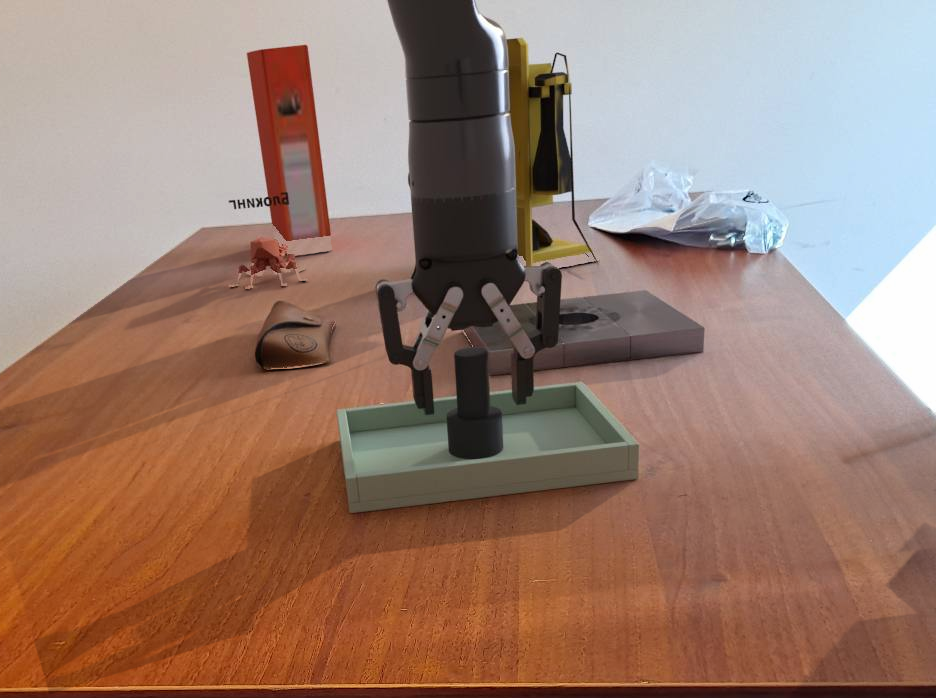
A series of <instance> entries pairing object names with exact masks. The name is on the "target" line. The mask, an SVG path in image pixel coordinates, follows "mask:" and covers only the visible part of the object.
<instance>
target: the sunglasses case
mask: <svg viewBox="0 0 936 698" xmlns="http://www.w3.org/2000/svg"><path fill="white" fill-rule="evenodd" d="M335 321H336V319H333V318H332V317H329V316H325V315H322V314H319V313H314V312H310V311H307V310H305V309H304V308H302V307H300V306H298V305H295V304H294V303H291V302H288V301H286V300H277V301H276V302H274V304H273V305H272V307H271V309H270V312H269V313H268V314H267V316H266V318H265V320H264V322H263V324H262V327H261V330H260V332H259V335H258V338H257V340H256V345H255V349H254V353H253V354H254V360H255V362H256V364H257V365H258V366H259V367H260V368H261V369H262V370H264V369H271V368H283V367H284V368H287V367H294V366H302V365H311V364H312V365H313V364H317V363H318V364H319V363H325V364H328V363H329V362H331V356H330V349H329V347H330V346H329V344H330V341H329V340H331V336H332V333H331V331H332V327H333V325H334V323H335ZM332 332H333V331H332ZM330 335H331V336H330Z"/></svg>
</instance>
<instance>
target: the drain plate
mask: <svg viewBox="0 0 936 698" xmlns="http://www.w3.org/2000/svg"><path fill="white" fill-rule="evenodd" d="M509 307H510V309H511V310H512V312H513V313H514V315H515V317H516V318H517V320H518V321H519V323H520V324H521V326H522V328H523V330H524V331H525V333H526V334H528V333H530V332H532V331H534V330H536V310H537V301H533V302H526V303H517V304H510V305H509ZM463 330H464V332H465V333H466V335H467V337H468V339H469V340H470V342H471V344H472V345H473V347H478V348H484V349H486V350H487V351H488V365H489V377H491V375H492V376H499V375H500V374H501V375H508V374H509V375H511V353H514V346H513V345H512V343H511V341H510V340H509V338H508V337H507V335H506V334H505V332H504V331H503V329H502V328H501V326H500V325H499V323H498V322H496V323H494V324H493V326H492V327H476V326H471V327H468V328H465V329H463ZM705 331H706V330H705V327H704V326H703V325H701V324H700V323H698V322H697V321H695V320H693V319H692V318H691V317H689V316H687V315H686V314H684V313H682V312H681V311H679V310H678V309H676V308H675V307H673V306H672V305H670V304H669V303H667V302H665V301H664V300H662V299H661V298H660V297H657V296H656V295H654V293H651V292H650V291H648V290H646V289H644V290H634V291H627V292H626V291H625V292H616V293H615V292H614V293H607V294H597V295H589V296H580V297H569V298H561V300H560V316H559V333H558V342H557V344H556V345H555V346H554V347H552V348H545V349H543V350H540V351H539V352H537V353H536V354H535V356H534V359H533V372H535V371H544V370H545V371H546V370H553V369H562V368H571V367H580V366H588V365H598V364H606V363H615V362H624V361H631V360H632V361H634V360H643V359H650V358H660V357H669V356H677V355H686V354H694V353H703V352H704V347H705Z"/></svg>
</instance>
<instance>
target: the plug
mask: <svg viewBox="0 0 936 698" xmlns="http://www.w3.org/2000/svg"><path fill="white" fill-rule="evenodd" d="M453 358H454V362H453V363H454V375H455V378H454V379H455V393H456V395H455V396H457V408H455V409H453V410H451V411H449V412H448V413H447V416H446V418H447V433H448V448H449V452H450V454H451V455H453V456H455V457H458V458H463V459H482V458H487V457H491V456H494V455H497V454H498V453H500V452H501V451H502V450H503V424H502V411H501V410H500V409H499V408H497V407H494V406H490V392H491V390H490V389H491V388H490V375H489V365H488V351H487V350H486V349H484V348H478V347H472V346H470V347H464V348H460V349H457V350H455V351H454V353H453Z"/></svg>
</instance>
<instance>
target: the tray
mask: <svg viewBox="0 0 936 698" xmlns="http://www.w3.org/2000/svg"><path fill="white" fill-rule="evenodd" d="M433 400H434V415H426V416H425V413H424V411H423V409H418V407H417V405H416V403H415V401H414V400H410V401H402V402H392V403H384V404H375V405H374V404H373V405H366V406H364V405H363V406H356V407H348V408H340V409H336V419H337V427H338V428H337V429H338V437H339V444H340V450H341V451H340V452H341V458H342V459H341V460H342V466H343V474H344V483H345V489H346V496H347V497H346V498H347V503H348V512H349V514H357V513H365V512H374V511H380V510H389V509H390V510H391V509H397V508H398V509H399V508H406V507H415V506H422V505H432V504H439V503H440V504H441V503H448V502H449V503H450V502H455V501H465V500H472V499H473V500H475V499H482V498H491V497H497V496H498V497H499V496H507V495H514V494H515V495H516V494H522V493H530V492H531V493H532V492H540V491H541V492H542V491H549V490H557V489H564V488H565V489H566V488H574V487H582V486H590V485H591V486H592V485H599V484H607V483H608V484H609V483H613V482H614V483H615V482H616V483H617V482H623V481H631V480H638V479H639V468H640V467H639V466H640V465H639V464H640V463H639V462H640V460H639V459H640V443H639V442H638V441H637V440H636V439H635V438H634V437H633V436H632V435H631V434H630V432H629V431H628V430H627V429H626V428H625V427H624V426H623V424H622V423H620V422H619V420H618V419H617V418H616V417H615V416H614V414H612V413H611V412H610V411H609V409H608V408H607V407H606V405H604V404H603V403H602V402H601V401H600V400H599V399H598V397H596V395H595V394H594V393H593V392H592V391H591V390H590V389H589V387H588V386H587V385H586V384H585V383H584V382H583V381H574V382H566V383H559V384H550V385H542V386H541V385H540V386H534V391H533V394H532V396H531V397H526V404H524V405H516V403H515V402H514V400H513V397H512V389H506V390H505V389H504V390H499V391H497V390H496V391H490V406H494V407H497V408H499V409H500V410H501V411H502V424H503V450H502V451H501V452H500V453H498V454H497V455H494V456H491V457H487V458H482V459H463V458H458V457H455V456H453V455H451V454H450V452H449V448H448V433H447V418H446V416H447V413H448V412H449V411H451V410H453V409H455V408H457V395H453V396H443V397H435V398H434V397H433Z"/></svg>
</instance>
